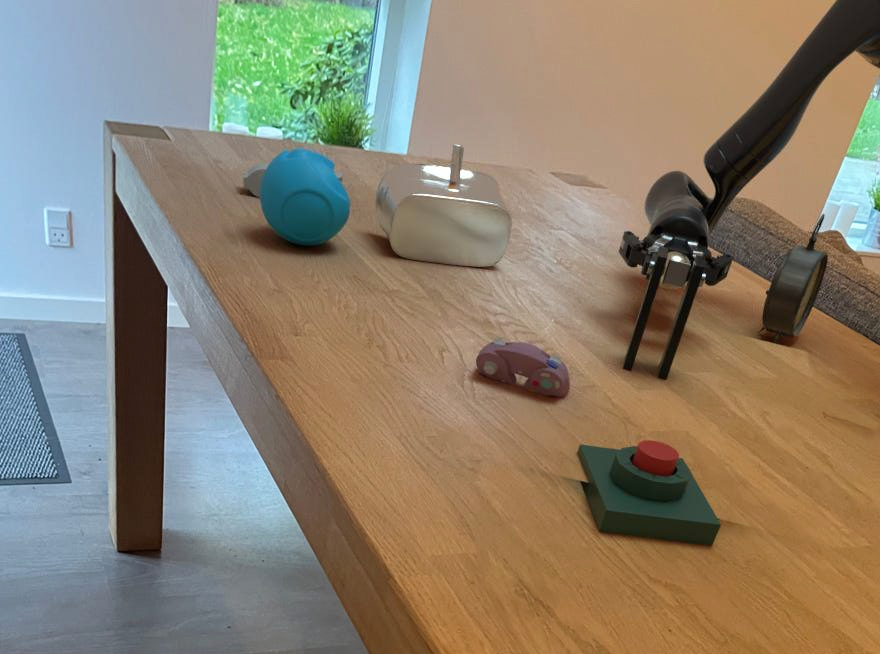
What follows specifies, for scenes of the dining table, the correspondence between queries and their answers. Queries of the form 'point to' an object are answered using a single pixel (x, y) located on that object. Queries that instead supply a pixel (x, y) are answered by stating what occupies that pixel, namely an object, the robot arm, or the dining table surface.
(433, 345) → the dining table surface
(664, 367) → the bracket
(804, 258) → the alarm clock
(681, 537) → the box
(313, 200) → the teal rounded lump
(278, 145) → the dining table surface
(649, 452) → the button
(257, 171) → the bunny figurine
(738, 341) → the dining table surface
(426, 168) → the vr headset
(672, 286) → the lever
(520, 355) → the video game controller
